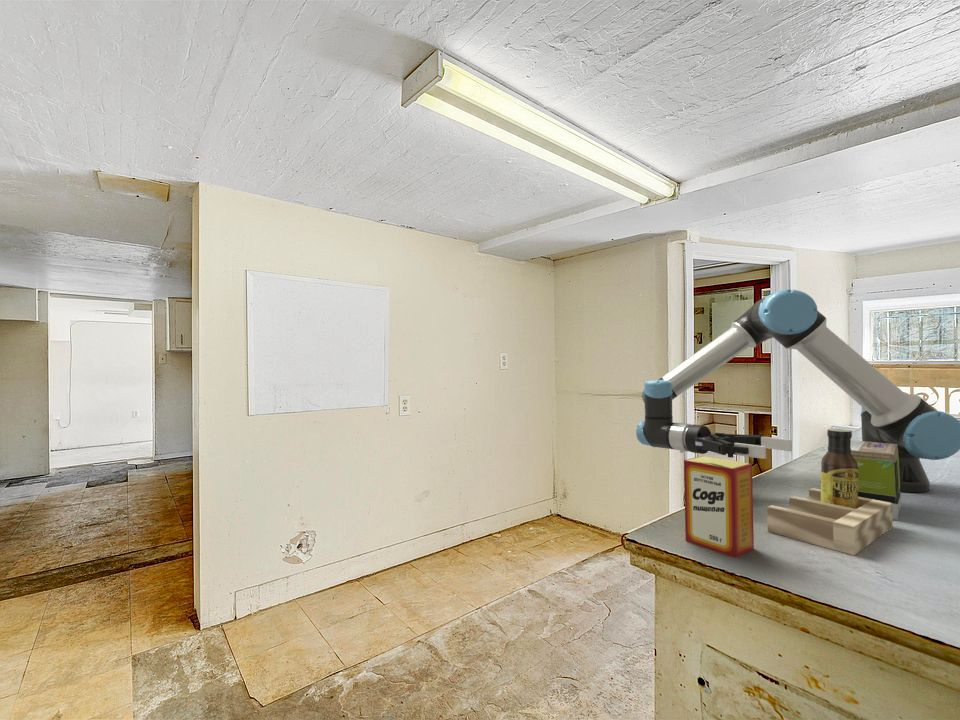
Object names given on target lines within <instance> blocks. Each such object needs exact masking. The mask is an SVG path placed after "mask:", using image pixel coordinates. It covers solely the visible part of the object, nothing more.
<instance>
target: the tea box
mask: <svg viewBox="0 0 960 720" xmlns="http://www.w3.org/2000/svg"><path fill="white" fill-rule="evenodd" d="M850 443H851V446H850V447H851V455H852V456H853V458H854V459H855V460H856V462H857V465H858V497H863V498H868V499H874V500H879V501H885V502H890V503H892V516H893V521H898V518H899V513H900V510H901V505H902V497H901V495H902V493H901V491H900V472H899V455H898V445H897V444H889V443H878V442H865V441H862V440H851V442H850Z"/></svg>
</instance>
